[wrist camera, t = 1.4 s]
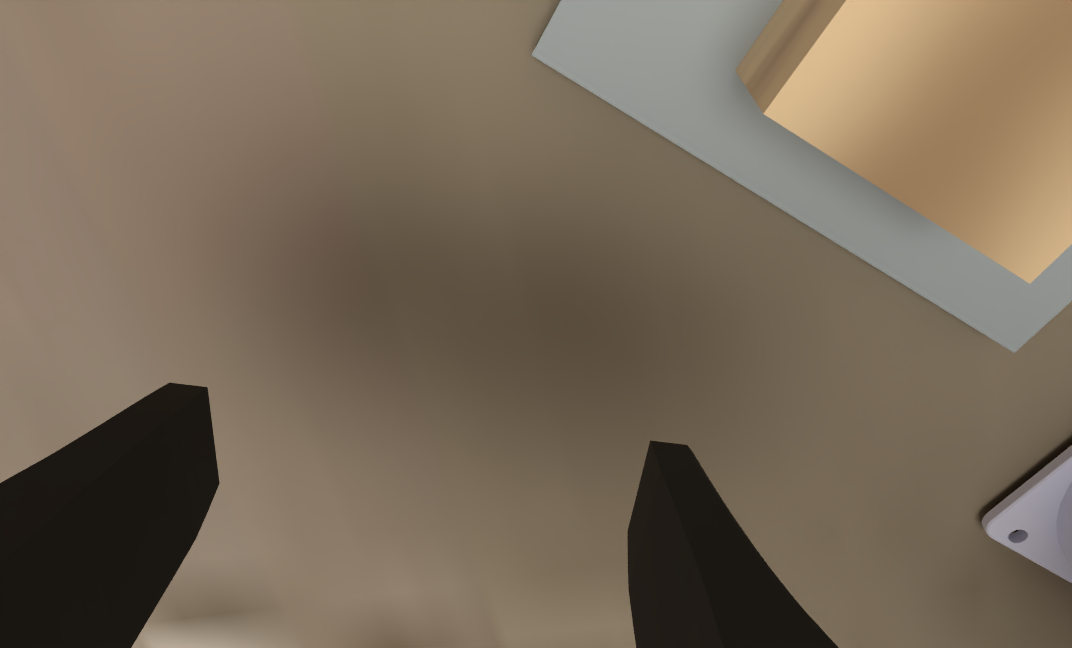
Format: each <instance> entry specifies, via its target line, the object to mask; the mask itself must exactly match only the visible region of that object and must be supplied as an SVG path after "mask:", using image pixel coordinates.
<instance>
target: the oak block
mask: <svg viewBox="0 0 1072 648" xmlns="http://www.w3.org/2000/svg"><path fill="white" fill-rule="evenodd" d="M735 71H736V73H737V74H738V76H739V77H740V79H741V80H742V82H743V83H744V85H745V86H746V88H747V89H748V91H749V93H750V94H751V96H752V97H753V99H754V100H755V102H756V103H757V105H758V106H759V108H760V109H761V111H762V113H763V114H764V115H766V116H768V117H769V118H771V119H772V120H774V121H775V122H777V123H778V124H780V125H782V126H783V127H785V128H786V129H788V130H789V131H791V132H793V133H794V134H796V135H797V136H799V137H800V138H802V139H804V140H805V141H807V142H808V143H810V144H811V145H813V146H815V147H816V148H818V149H819V150H821V151H822V152H824V153H826V154H827V155H829V156H830V157H832V158H833V159H835V160H837V161H838V162H840V163H841V164H843V165H844V166H846V167H847V168H849V169H851V170H852V171H854V172H855V173H857V174H858V175H860V176H862V177H863V178H865V179H866V180H868V181H869V182H871V183H873V184H874V185H876V186H877V187H879V188H880V189H882V190H884V191H885V192H887V193H888V194H890V195H891V196H893V197H895V198H896V199H898V200H899V201H901V202H902V203H904V204H906V205H907V206H909V207H910V208H912V209H913V210H915V211H916V212H918V213H920V214H921V215H923V216H924V217H926V218H927V219H929V220H931V221H932V222H934V223H935V224H937V225H938V226H940V227H942V228H943V229H945V230H946V231H948V232H949V233H951V234H953V235H954V236H956V237H957V238H959V239H960V240H962V241H964V242H965V243H967V244H968V245H970V246H971V247H973V248H975V249H976V250H978V251H979V252H981V253H982V254H984V255H985V256H987V257H989V258H990V259H992V260H993V261H995V262H996V263H998V264H1000V265H1001V266H1003V267H1004V268H1006V269H1007V270H1009V271H1011V272H1012V273H1014V274H1015V275H1017V276H1018V277H1020V278H1022V279H1023V280H1025V281H1026V282H1028V283H1029V284H1030V283H1031V282H1032V281H1034V280H1035V279H1036V278H1037V277H1038V276H1039V275H1040V274H1041V273H1042V272H1043V271H1044V270H1045V269H1046V268H1047V267H1048V266H1049V265H1050V264H1051V263H1052V262H1053V261H1054V260H1056V259H1057V258H1058V257H1059V256H1060V255H1061V254H1062V253H1063V252H1064V251H1065V250H1066V249H1067V248H1068V247H1069V246H1070V245H1071V244H1072V0H783V1H782V3H781V4H780V6H779V7H778V9H777V10H776V12H775V13H774V14H773V16H772V17H771V19H770V20H769V22H768V23H767V25H766V26H765V28H764V29H763V30H762V32H761V33H760V35H759V36H758V38H757V39H756V41H755V42H754V44H753V45H752V46H751V48H750V49H749V51H748V52H747V54H746V55H745V57H744V58H743V60H742V61H741V62H740V64H739V65H738V67H737V68H736V70H735Z"/></svg>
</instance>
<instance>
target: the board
mask: <svg viewBox="0 0 1072 648" xmlns="http://www.w3.org/2000/svg"><path fill="white" fill-rule="evenodd" d="M782 1H783V0H561V1H560V3H559V5H558V7H557V9H556V11H555V12H554V14H553V16H552V18H551V20H550V22H549V24H548V25H547V27H546V29H545V31H544V33H543V35H542V36H541V38H540V40H539V42H538V44H537V46H536V48H535V49H534V51H533V53H532V56H533V57H535V58H537V59H538V60H540V61H542V62H543V63H545V64H546V65H548V66H550V67H551V68H553V69H555V70H556V71H558V72H559V73H561V74H563V75H564V76H566V77H568V78H569V79H571V80H572V81H574V82H576V83H577V84H579V85H580V86H582V87H584V88H585V89H587V90H589V91H590V92H592V93H593V94H595V95H597V96H598V97H600V98H602V99H603V100H605V101H606V102H608V103H610V104H611V105H613V106H615V107H616V108H618V109H619V110H621V111H623V112H624V113H626V114H628V115H629V116H631V117H632V118H634V119H636V120H637V121H639V122H641V123H642V124H644V125H645V126H647V127H649V128H650V129H652V130H653V131H655V132H657V133H658V134H660V135H662V136H663V137H665V138H666V139H668V140H670V141H671V142H673V143H675V144H676V145H678V146H679V147H681V148H683V149H684V150H686V151H688V152H689V153H691V154H692V155H694V156H696V157H697V158H699V159H701V160H702V161H704V162H705V163H707V164H709V165H710V166H712V167H714V168H715V169H717V170H718V171H720V172H722V173H723V174H725V175H726V176H728V177H730V178H731V179H733V180H735V181H736V182H738V183H739V184H741V185H743V186H744V187H746V188H748V189H749V190H751V191H752V192H754V193H756V194H757V195H759V196H761V197H762V198H764V199H765V200H767V201H769V202H770V203H772V204H774V205H775V206H777V207H778V208H780V209H782V210H783V211H785V212H787V213H788V214H790V215H791V216H793V217H795V218H796V219H798V220H799V221H801V222H803V223H804V224H806V225H808V226H809V227H811V228H812V229H814V230H816V231H817V232H819V233H821V234H822V235H824V236H825V237H827V238H829V239H830V240H832V241H834V242H835V243H837V244H838V245H840V246H842V247H843V248H845V249H847V250H848V251H850V252H851V253H853V254H855V255H856V256H858V257H860V258H861V259H863V260H864V261H866V262H868V263H869V264H871V265H872V266H874V267H876V268H877V269H879V270H881V271H882V272H884V273H885V274H887V275H889V276H890V277H892V278H894V279H895V280H897V281H898V282H900V283H902V284H903V285H905V286H907V287H908V288H910V289H911V290H913V291H915V292H916V293H918V294H920V295H921V296H923V297H924V298H926V299H928V300H929V301H931V302H933V303H934V304H936V305H937V306H939V307H941V308H942V309H944V310H945V311H947V312H949V313H950V314H952V315H954V316H955V317H957V318H958V319H960V320H962V321H963V322H965V323H967V324H968V325H970V326H971V327H973V328H975V329H976V330H978V331H980V332H981V333H983V334H984V335H986V336H988V337H989V338H991V339H993V340H994V341H996V342H997V343H999V344H1001V345H1002V346H1004V347H1006V348H1007V349H1009V350H1010V351H1012V352H1014V353H1015V352H1016V351H1017V350H1018V349H1019V348H1020V347H1022V346H1023V345H1024V344H1025V343H1026V342H1027V341H1028V340H1029V339H1030V338H1031V337H1033V336H1034V335H1035V334H1036V333H1037V332H1038V331H1039V330H1040V329H1041V328H1042V327H1043V326H1045V325H1046V324H1047V323H1048V322H1049V321H1050V320H1051V319H1052V318H1053V317H1054V316H1056V315H1057V314H1058V313H1059V312H1060V311H1061V310H1062V309H1063V308H1064V307H1065V306H1066V305H1068V304H1069V303H1070V302H1071V301H1072V244H1071V245H1070V246H1069V247H1068V248H1067V249H1066V250H1065V251H1064V252H1063V253H1062V254H1061V255H1060V256H1059V257H1058V258H1057V259H1056V260H1054V261H1053V262H1052V263H1051V264H1050V265H1049V266H1048V267H1047V268H1046V269H1045V270H1044V271H1043V272H1042V273H1041V274H1040V275H1039V276H1038V277H1037V278H1036V279H1035V280H1034V281H1032V282H1031V283H1030V284H1029V283H1028V282H1026V281H1025V280H1023V279H1022V278H1020V277H1018V276H1017V275H1015V274H1014V273H1012V272H1011V271H1009V270H1007V269H1006V268H1004V267H1003V266H1001V265H1000V264H998V263H996V262H995V261H993V260H992V259H990V258H989V257H987V256H985V255H984V254H982V253H981V252H979V251H978V250H976V249H975V248H973V247H971V246H970V245H968V244H967V243H965V242H964V241H962V240H960V239H959V238H957V237H956V236H954V235H953V234H951V233H949V232H948V231H946V230H945V229H943V228H942V227H940V226H938V225H937V224H935V223H934V222H932V221H931V220H929V219H927V218H926V217H924V216H923V215H921V214H920V213H918V212H916V211H915V210H913V209H912V208H910V207H909V206H907V205H906V204H904V203H902V202H901V201H899V200H898V199H896V198H895V197H893V196H891V195H890V194H888V193H887V192H885V191H884V190H882V189H880V188H879V187H877V186H876V185H874V184H873V183H871V182H869V181H868V180H866V179H865V178H863V177H862V176H860V175H858V174H857V173H855V172H854V171H852V170H851V169H849V168H847V167H846V166H844V165H843V164H841V163H840V162H838V161H837V160H835V159H833V158H832V157H830V156H829V155H827V154H826V153H824V152H822V151H821V150H819V149H818V148H816V147H815V146H813V145H811V144H810V143H808V142H807V141H805V140H804V139H802V138H800V137H799V136H797V135H796V134H794V133H793V132H791V131H789V130H788V129H786V128H785V127H783V126H782V125H780V124H778V123H777V122H775V121H774V120H772V119H771V118H769V117H768V116H766V115H764V114H763V113H762V111H761V109H760V108H759V106H758V105H757V103H756V102H755V100H754V99H753V97H752V96H751V94H750V93H749V91H748V89H747V88H746V86H745V85H744V83H743V82H742V80H741V79H740V77H739V76H738V74H737V73H736V71H735V70H736V68H737V67H738V65H739V64H740V62H741V61H742V60H743V58H744V57H745V55H746V54H747V52H748V51H749V49H750V48H751V46H752V45H753V44H754V42H755V41H756V39H757V38H758V36H759V35H760V33H761V32H762V30H763V29H764V28H765V26H766V25H767V23H768V22H769V20H770V19H771V17H772V16H773V14H774V13H775V12H776V10H777V9H778V7H779V6H780V4H781V3H782Z"/></svg>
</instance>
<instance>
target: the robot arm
mask: <svg viewBox="0 0 1072 648" xmlns="http://www.w3.org/2000/svg"><path fill="white" fill-rule="evenodd" d="M218 485H219V477H218V468H217V460H216V452H215V444H214V436H213V428H212V420H211V412H210V404H209V396H208V388H207V387H201V386H192V385H184V384H176V383H168V384H167V385H165V386H163V387H161V388H159V389H158V390H156V391H154V392H153V393H151V394H149V395H148V396H146V397H144V398H143V399H141V400H139V401H138V402H136V403H135V404H133V405H131V406H130V407H128V408H127V409H125V410H123V411H122V412H120V413H119V414H117V415H115V416H114V417H112V418H110V419H109V420H107V421H106V422H104V423H102V424H101V425H99V426H98V427H96V428H94V429H93V430H91V431H89V432H88V433H86V434H84V435H83V436H81V437H80V438H78V439H76V440H75V441H73V442H71V443H70V444H68V445H66V446H65V447H63V448H61V449H60V450H58V451H57V452H55V453H53V454H51V455H50V456H48V457H46V458H44V459H43V460H41V461H39V462H37V463H35V464H34V465H32V466H30V467H28V468H27V469H25V470H23V471H21V472H19V473H18V474H16V475H14V476H12V477H10V478H9V479H7V480H5V481H3V482H1V483H0V648H131V647H132V645H133V644H134V642H135V640H136V639H137V637H138V635H139V634H140V632H141V630H142V629H143V627H144V625H145V624H146V622H147V620H148V619H149V617H150V615H151V614H152V612H153V610H154V609H155V607H156V605H157V604H158V602H159V600H160V599H161V597H162V595H163V594H164V592H165V590H166V589H167V587H168V585H169V584H170V582H171V580H172V579H173V577H174V575H175V574H176V572H177V570H178V568H179V567H180V565H181V563H182V562H183V560H184V558H185V557H186V555H187V553H188V551H189V550H190V548H191V546H192V544H193V543H194V541H195V539H196V537H197V535H198V532H199V530H200V528H201V526H202V523H203V521H204V519H205V517H206V515H207V512H208V510H209V507H210V505H211V502H212V500H213V498H214V495H215V493H216V490H217V488H218ZM982 525H983V528H984V530H985V532H986V533H987V535H988V536H989V537H991V538H992V539H994V540H996V541H997V542H999V543H1001V544H1003V545H1004V546H1006V547H1008V548H1010V549H1012V550H1013V551H1015V552H1017V553H1019V554H1020V555H1022V556H1024V557H1026V558H1027V559H1029V560H1031V561H1033V562H1035V563H1036V564H1038V565H1040V566H1042V567H1043V568H1045V569H1047V570H1049V571H1051V572H1052V573H1054V574H1056V575H1058V576H1059V577H1061V578H1063V579H1065V580H1067V581H1068V582H1070V583H1072V445H1071V446H1070V447H1069V448H1067V449H1066V450H1065V451H1064V452H1062V453H1061V454H1060V455H1059V456H1057V457H1056V458H1055V459H1054V460H1052V461H1051V462H1050V463H1049V464H1048V465H1046V466H1045V467H1044V468H1043V469H1041V470H1040V471H1039V472H1038V473H1036V474H1035V475H1034V476H1033V477H1031V478H1030V479H1029V480H1028V481H1026V482H1025V483H1024V484H1023V485H1021V486H1020V487H1019V488H1018V489H1016V490H1015V491H1014V492H1013V493H1011V494H1010V495H1009V496H1008V497H1006V498H1005V499H1004V500H1003V501H1001V502H1000V503H999V504H998V505H996V506H995V507H994V508H993V509H991V510H990V511H989V512H988V513H987V514H986V515H985V516H984V517H983V519H982ZM1015 530H1019V531H1017V532H1015V533H1011V532H1013V531H1015ZM628 584H629V596H630V604H631V611H632V619H633V626H634V634H635V641H636V648H838V647H837V646H836V644H835V643H834V642H833V641H832V640H831V639H830V638H829V637H828V636H827V635H826V634H825V632H824V631H823V630H822V629H821V628H820V627H819V626H818V625H817V624H816V623H815V622H814V620H813V619H812V618H811V617H810V616H809V615H808V614H807V613H806V612H805V611H804V609H803V608H802V607H801V606H800V605H799V604H798V602H797V601H796V600H795V599H794V598H793V596H792V595H791V594H790V593H789V591H788V590H787V589H786V588H785V586H784V585H783V584H782V583H781V581H780V580H779V579H778V577H777V576H776V575H775V574H774V572H773V571H772V570H771V569H770V567H769V566H768V565H767V563H766V562H765V561H764V559H763V558H762V557H761V555H760V554H759V552H758V551H757V550H756V548H755V547H754V545H753V544H752V543H751V541H750V540H749V538H748V537H747V535H746V534H745V533H744V531H743V530H742V528H741V527H740V526H739V524H738V523H737V521H736V520H735V518H734V517H733V515H732V514H731V512H730V511H729V509H728V508H727V506H726V505H725V503H724V502H723V500H722V499H721V497H720V495H719V494H718V492H717V491H716V489H715V488H714V486H713V484H712V483H711V481H710V480H709V478H708V476H707V475H706V473H705V472H704V470H703V468H702V467H701V465H700V463H699V462H698V460H697V459H696V457H695V455H694V454H693V452H692V451H691V449H690V448H689V447H688V445H682V444H673V443H665V442H657V441H650V444H649V448H648V452H647V456H646V460H645V464H644V468H643V472H642V476H641V480H640V484H639V488H638V492H637V496H636V500H635V504H634V508H633V512H632V516H631V520H630V524H629V528H628Z"/></svg>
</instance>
